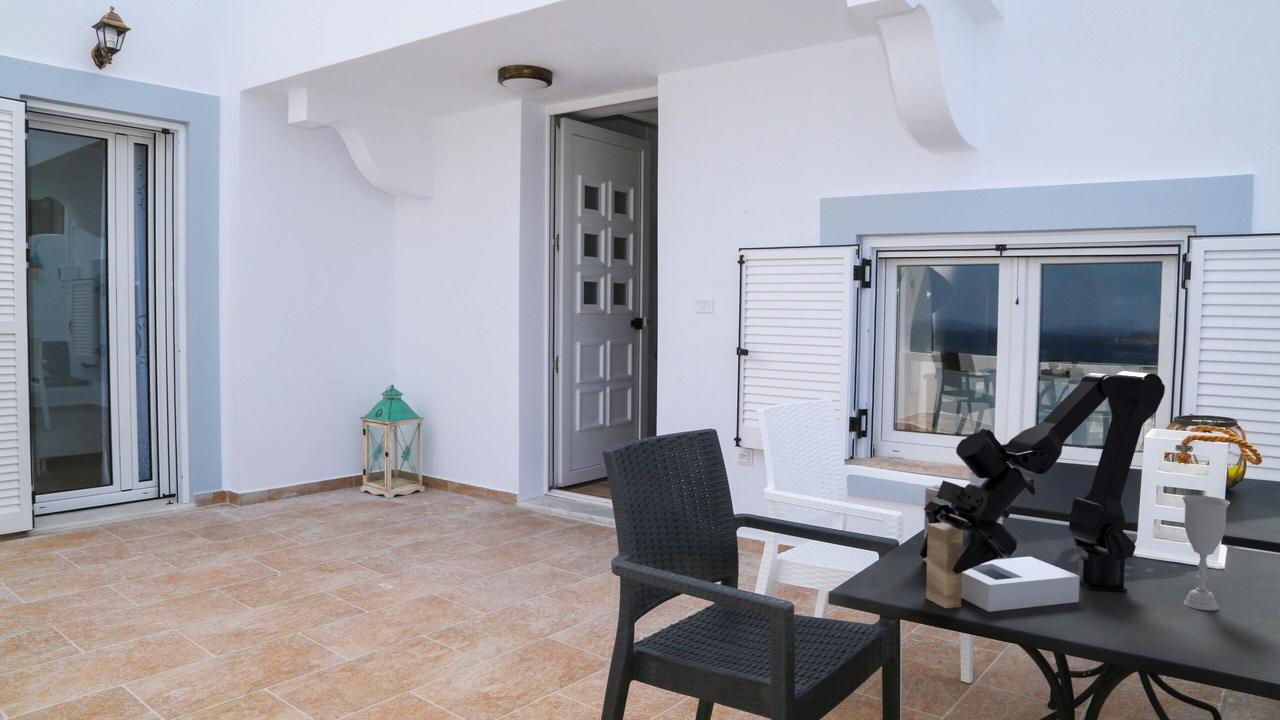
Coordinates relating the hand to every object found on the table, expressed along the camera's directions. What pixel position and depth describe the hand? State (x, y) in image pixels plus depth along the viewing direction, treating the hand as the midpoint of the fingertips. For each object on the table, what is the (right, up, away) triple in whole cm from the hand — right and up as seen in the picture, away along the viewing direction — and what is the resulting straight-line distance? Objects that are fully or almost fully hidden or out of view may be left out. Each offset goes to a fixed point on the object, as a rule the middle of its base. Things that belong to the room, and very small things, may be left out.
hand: (937, 564), depth 150 cm
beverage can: (+8, -5, +24) cm, 25 cm away
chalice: (+45, -7, 0) cm, 45 cm away
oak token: (+1, -7, +1) cm, 7 cm away
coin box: (+14, -6, +5) cm, 16 cm away
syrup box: (+26, -4, +47) cm, 54 cm away
